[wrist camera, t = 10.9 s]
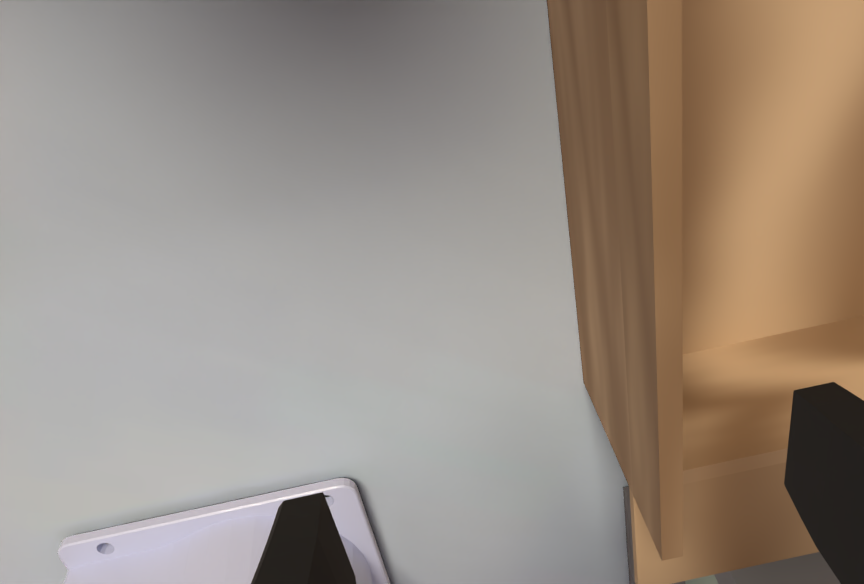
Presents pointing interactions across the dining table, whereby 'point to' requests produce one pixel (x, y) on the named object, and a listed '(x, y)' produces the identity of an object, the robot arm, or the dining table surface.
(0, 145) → the dining table surface
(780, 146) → the wooden tray
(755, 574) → the capped block
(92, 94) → the dining table surface
